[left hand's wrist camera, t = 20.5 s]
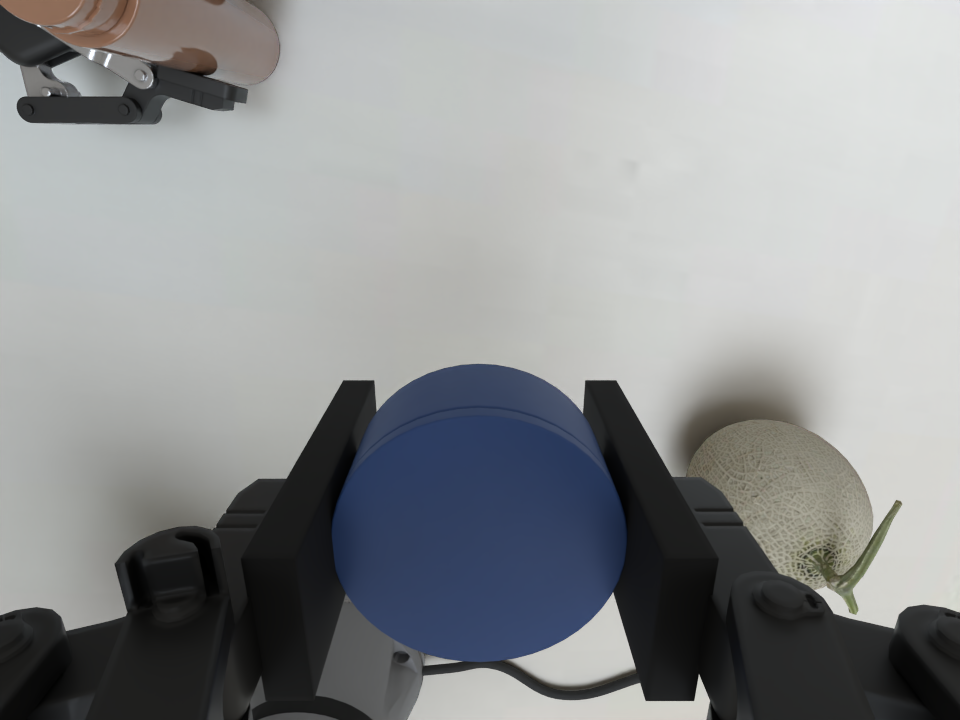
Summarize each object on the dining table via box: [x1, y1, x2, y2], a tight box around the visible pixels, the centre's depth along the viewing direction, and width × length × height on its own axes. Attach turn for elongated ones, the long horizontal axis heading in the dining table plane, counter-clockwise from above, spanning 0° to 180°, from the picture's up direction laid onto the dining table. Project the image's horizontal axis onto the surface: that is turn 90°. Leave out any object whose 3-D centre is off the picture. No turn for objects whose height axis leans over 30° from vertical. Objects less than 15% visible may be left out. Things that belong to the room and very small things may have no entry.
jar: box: [0, 0, 279, 85], centre depth 26 cm, size 4×4×17 cm
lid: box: [331, 364, 627, 662], centre depth 11 cm, size 5×5×2 cm
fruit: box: [686, 419, 902, 615], centre depth 37 cm, size 10×12×15 cm
